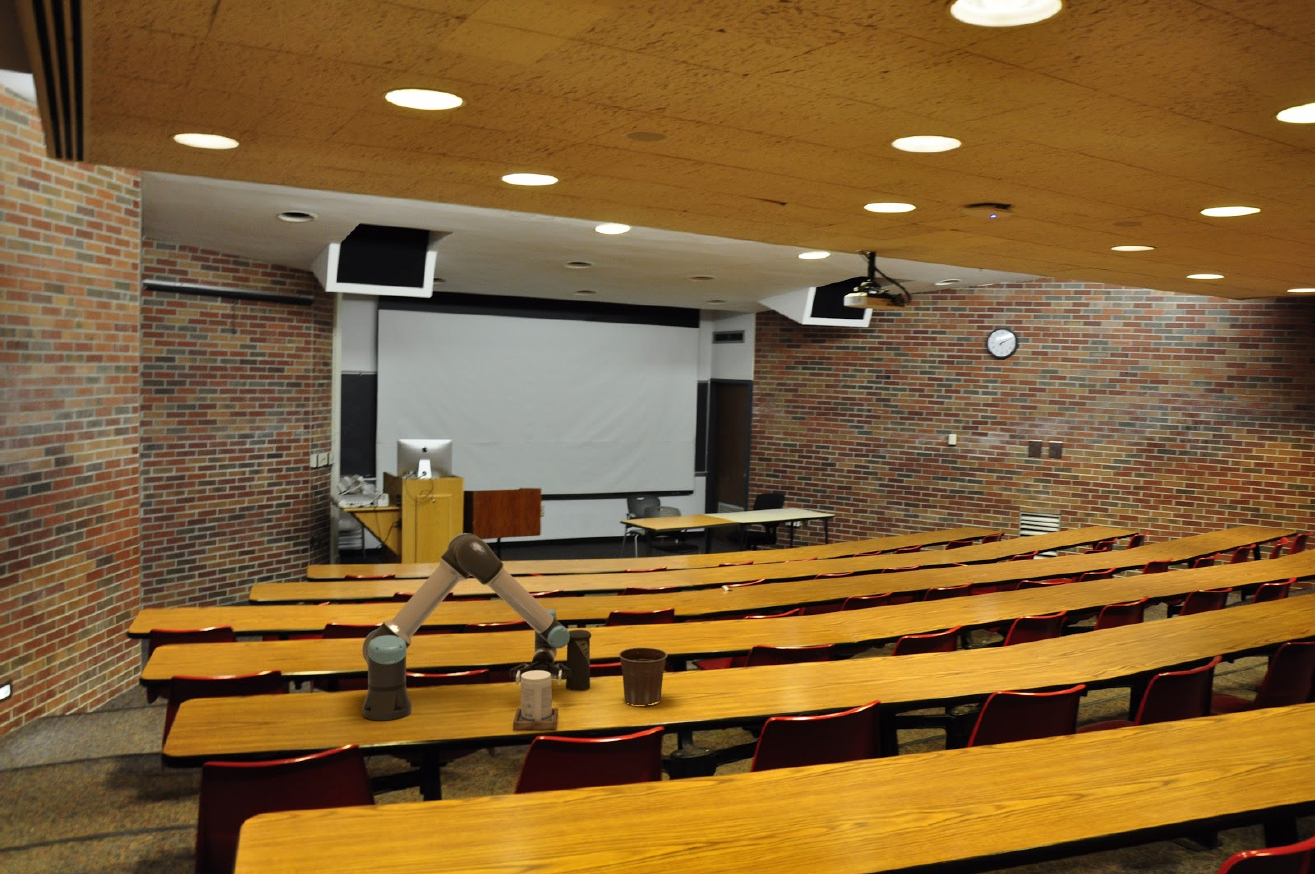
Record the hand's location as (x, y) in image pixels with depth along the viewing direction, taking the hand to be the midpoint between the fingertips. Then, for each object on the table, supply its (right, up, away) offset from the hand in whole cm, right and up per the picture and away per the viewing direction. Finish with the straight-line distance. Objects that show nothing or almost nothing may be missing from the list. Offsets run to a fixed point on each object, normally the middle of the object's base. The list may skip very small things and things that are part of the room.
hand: (538, 680), depth 298 cm
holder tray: (+1, -11, -10) cm, 15 cm away
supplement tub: (+1, -10, -10) cm, 14 cm away
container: (+11, -9, +26) cm, 29 cm away
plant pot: (+33, -10, +12) cm, 37 cm away
